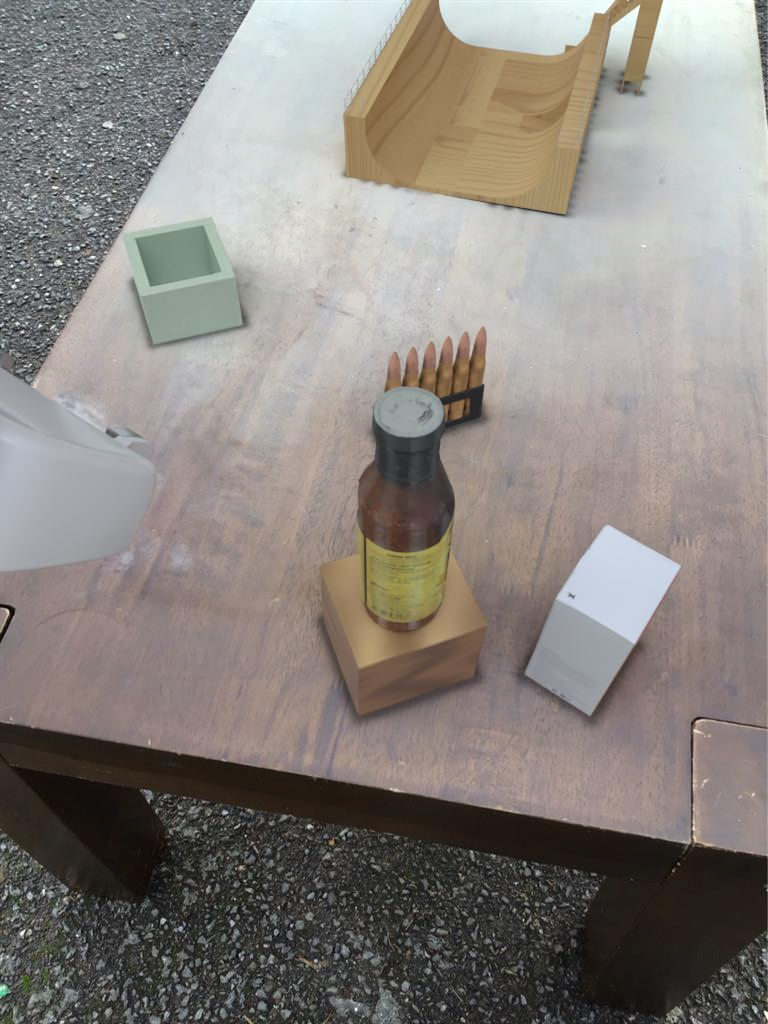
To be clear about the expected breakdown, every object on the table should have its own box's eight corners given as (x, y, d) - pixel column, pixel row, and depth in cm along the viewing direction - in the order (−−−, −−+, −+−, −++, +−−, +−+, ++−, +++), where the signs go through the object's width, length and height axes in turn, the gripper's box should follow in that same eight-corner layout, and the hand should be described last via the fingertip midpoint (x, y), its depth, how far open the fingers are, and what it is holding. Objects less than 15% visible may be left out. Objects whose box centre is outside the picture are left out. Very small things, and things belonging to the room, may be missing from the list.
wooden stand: (358, 718, 65) (358, 667, 57) (323, 623, 70) (319, 564, 62) (473, 678, 67) (488, 625, 59) (431, 589, 72) (440, 529, 64)
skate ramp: (419, 49, 131) (423, -67, 118) (642, 78, 126) (672, -40, 113) (346, 185, 109) (341, 60, 96) (613, 228, 103) (647, 102, 90)
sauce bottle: (459, 612, 60) (496, 433, 44) (385, 650, 58) (397, 478, 42) (412, 547, 63) (431, 358, 47) (341, 581, 61) (336, 396, 45)
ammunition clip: (472, 407, 85) (487, 318, 75) (480, 419, 84) (497, 330, 74) (378, 437, 82) (381, 348, 72) (385, 450, 81) (389, 362, 71)
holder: (154, 347, 88) (140, 296, 83) (136, 285, 94) (121, 233, 89) (243, 327, 91) (235, 276, 85) (219, 268, 97) (211, 216, 91)
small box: (590, 719, 65) (636, 646, 55) (521, 675, 67) (552, 597, 57) (634, 645, 69) (684, 564, 59) (567, 606, 71) (604, 521, 61)
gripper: (-437, 335, 30) (-91, 375, 43) (-84, 626, 24) (199, 571, 36) (-401, 169, 29) (-54, 261, 41) (-15, 430, 22) (255, 444, 35)
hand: (67, 407), depth 39 cm, fingers open, 8 cm apart
